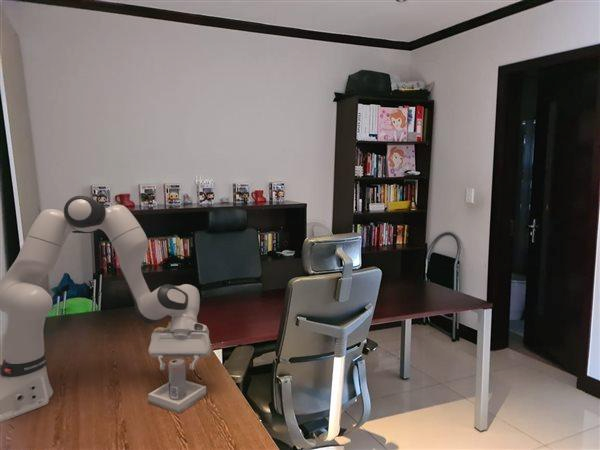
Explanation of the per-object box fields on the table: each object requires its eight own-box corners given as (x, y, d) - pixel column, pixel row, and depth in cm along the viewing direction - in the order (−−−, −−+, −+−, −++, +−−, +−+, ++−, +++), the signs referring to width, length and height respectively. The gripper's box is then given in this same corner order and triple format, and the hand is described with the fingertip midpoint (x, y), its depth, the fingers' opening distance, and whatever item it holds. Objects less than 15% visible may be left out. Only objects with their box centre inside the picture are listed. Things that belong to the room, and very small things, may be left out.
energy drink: (179, 390, 155) (178, 356, 153) (189, 395, 151) (188, 361, 150) (166, 396, 151) (164, 362, 149) (176, 402, 147) (174, 366, 146)
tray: (178, 413, 143) (178, 404, 142) (148, 402, 149) (148, 394, 148) (206, 394, 154) (206, 386, 153) (176, 385, 160) (176, 377, 160)
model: (154, 346, 194) (153, 329, 192) (169, 337, 204) (168, 320, 203) (160, 347, 193) (160, 330, 192) (175, 338, 203) (174, 321, 202)
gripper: (150, 325, 156) (142, 366, 147) (211, 325, 156) (206, 366, 148) (154, 333, 161) (147, 372, 152) (213, 333, 161) (209, 372, 153)
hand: (177, 369), depth 150 cm, fingers open, 8 cm apart
